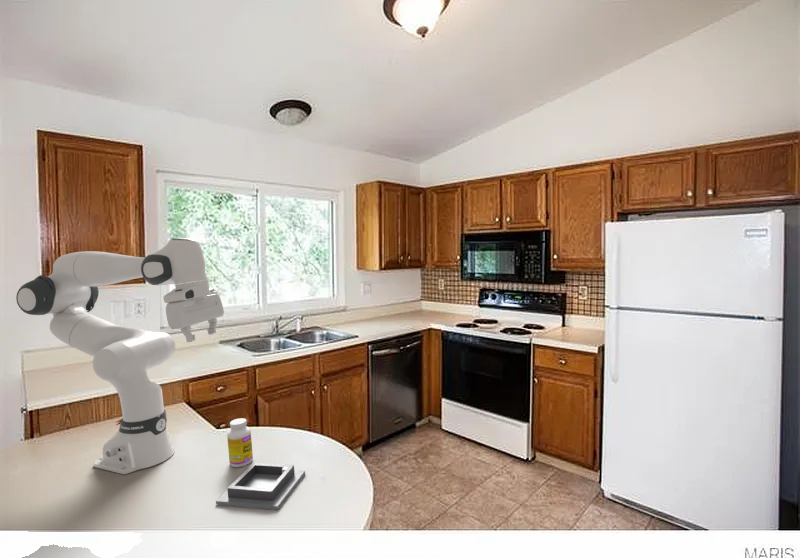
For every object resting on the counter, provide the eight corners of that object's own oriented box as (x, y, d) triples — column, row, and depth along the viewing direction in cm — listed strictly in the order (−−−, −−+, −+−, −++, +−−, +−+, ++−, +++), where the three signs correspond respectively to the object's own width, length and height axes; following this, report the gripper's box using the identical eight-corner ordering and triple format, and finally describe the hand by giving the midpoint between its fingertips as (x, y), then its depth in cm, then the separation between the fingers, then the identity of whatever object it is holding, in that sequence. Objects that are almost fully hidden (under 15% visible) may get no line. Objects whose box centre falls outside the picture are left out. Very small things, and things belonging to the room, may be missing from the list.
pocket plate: (216, 504, 106) (214, 491, 106) (250, 470, 122) (249, 459, 121) (277, 510, 102) (276, 496, 102) (305, 474, 118) (304, 462, 118)
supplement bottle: (245, 468, 123) (241, 426, 121) (225, 467, 124) (221, 425, 123) (257, 457, 129) (254, 417, 128) (238, 456, 130) (234, 416, 129)
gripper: (207, 288, 134) (215, 331, 135) (158, 297, 114) (168, 347, 115) (224, 286, 133) (232, 329, 133) (178, 295, 113) (187, 345, 113)
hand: (202, 337), depth 124 cm, fingers open, 8 cm apart
